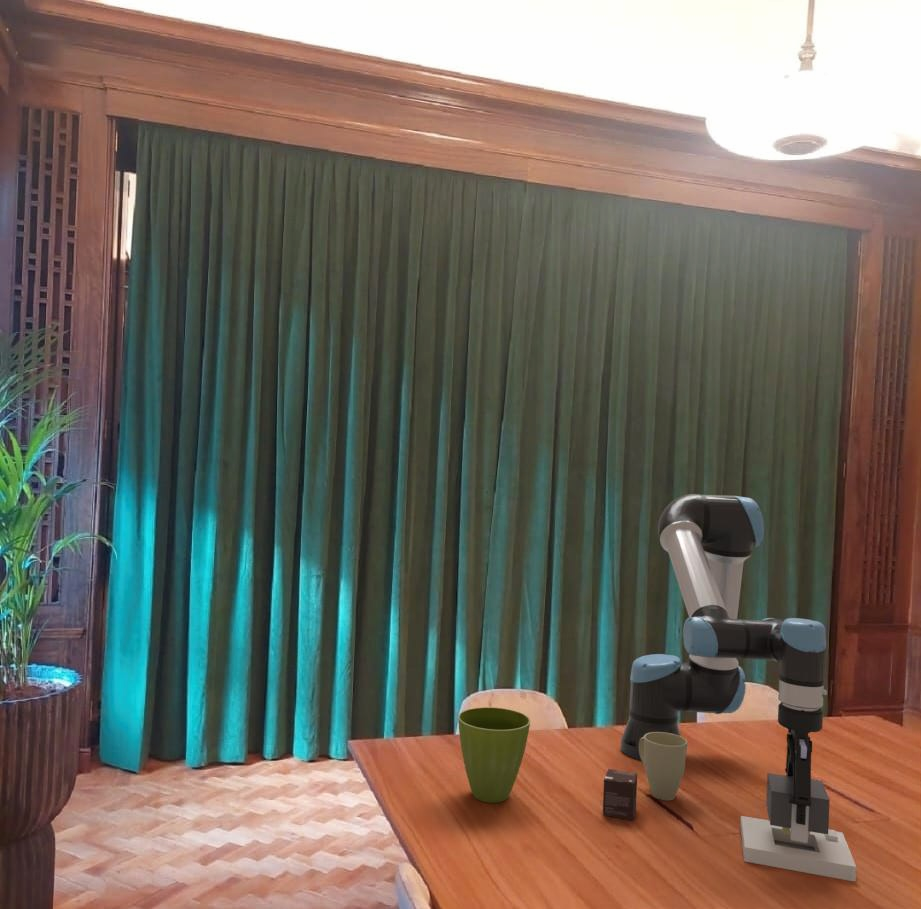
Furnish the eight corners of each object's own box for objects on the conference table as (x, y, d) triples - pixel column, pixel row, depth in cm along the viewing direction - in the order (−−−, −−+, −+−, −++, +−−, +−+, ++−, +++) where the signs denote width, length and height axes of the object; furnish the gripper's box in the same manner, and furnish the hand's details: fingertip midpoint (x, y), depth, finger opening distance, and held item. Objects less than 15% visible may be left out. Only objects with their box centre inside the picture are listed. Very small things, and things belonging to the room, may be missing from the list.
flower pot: (504, 818, 154) (508, 735, 154) (440, 798, 162) (444, 719, 162) (538, 793, 166) (542, 717, 167) (477, 776, 174) (481, 703, 175)
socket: (744, 861, 141) (744, 842, 141) (740, 828, 154) (741, 811, 154) (855, 881, 136) (856, 862, 136) (842, 846, 149) (842, 828, 149)
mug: (688, 791, 172) (691, 735, 172) (681, 808, 163) (683, 749, 163) (638, 780, 176) (640, 726, 177) (627, 796, 167) (630, 739, 168)
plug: (769, 836, 142) (771, 791, 142) (765, 815, 151) (767, 772, 151) (827, 846, 139) (829, 799, 139) (820, 824, 148) (821, 780, 148)
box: (636, 809, 161) (638, 773, 161) (633, 821, 155) (634, 783, 155) (606, 804, 163) (608, 768, 163) (601, 815, 157) (603, 778, 157)
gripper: (832, 725, 134) (827, 859, 133) (814, 693, 155) (810, 809, 154) (784, 719, 136) (779, 851, 136) (773, 688, 157) (768, 802, 157)
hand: (795, 828), depth 145 cm, fingers closed on plug, 9 cm apart
